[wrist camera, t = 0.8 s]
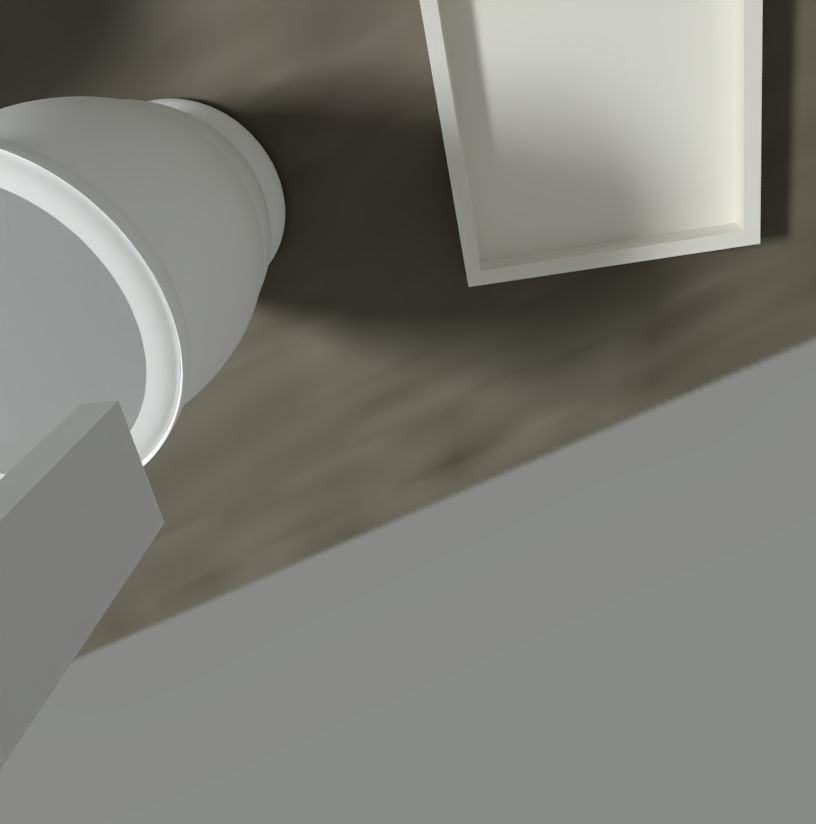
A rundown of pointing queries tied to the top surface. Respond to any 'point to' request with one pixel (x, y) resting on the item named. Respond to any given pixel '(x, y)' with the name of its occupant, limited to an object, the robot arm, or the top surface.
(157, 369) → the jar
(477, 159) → the tray
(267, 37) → the top surface
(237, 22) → the top surface
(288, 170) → the top surface
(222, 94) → the top surface
